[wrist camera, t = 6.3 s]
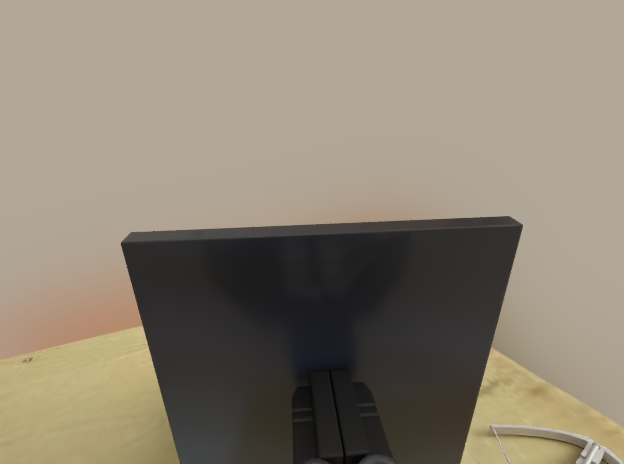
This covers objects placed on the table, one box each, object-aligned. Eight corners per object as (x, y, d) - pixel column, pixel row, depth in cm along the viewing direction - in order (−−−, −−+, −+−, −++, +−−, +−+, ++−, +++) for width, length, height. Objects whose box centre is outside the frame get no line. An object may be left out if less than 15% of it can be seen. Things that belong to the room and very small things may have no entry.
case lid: (130, 231, 11) (119, 242, 10) (509, 215, 12) (524, 224, 11) (203, 521, 18) (200, 540, 17) (440, 497, 19) (447, 514, 18)
